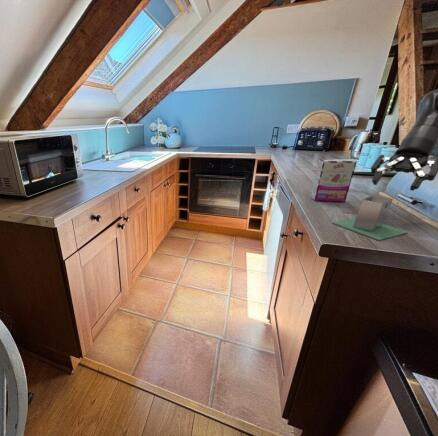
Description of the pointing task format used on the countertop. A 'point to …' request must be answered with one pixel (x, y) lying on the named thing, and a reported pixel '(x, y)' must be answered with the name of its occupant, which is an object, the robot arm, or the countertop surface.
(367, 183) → the countertop surface
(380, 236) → the green mat
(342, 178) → the candy bar box
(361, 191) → the countertop surface
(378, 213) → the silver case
